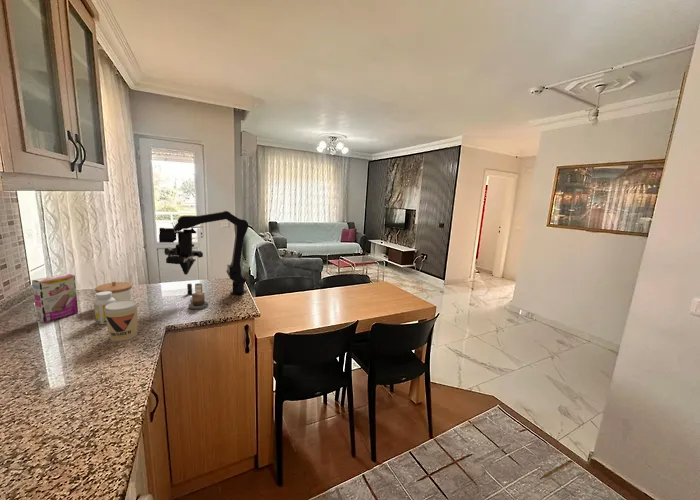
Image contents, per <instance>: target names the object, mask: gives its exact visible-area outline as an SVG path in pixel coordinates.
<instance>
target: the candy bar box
mask: <svg viewBox="0 0 700 500" xmlns="http://www.w3.org/2000/svg"><path fill="white" fill-rule="evenodd" d="M31 285H32V294H33V302H34V308H35V309H34V311H35V318H36V322H40V323H43V324H46V323H50V322H52V321H56V320H59V319H61V318H65V317H69V316H72V315H75V314H78V313H79V307H78V297H77V286H76V285H77V284H76V276H75V275H74V274H71V273H63V274H58V275H54V276H53V275H52V276H47V277H41V278H37V279H32V280H31Z"/></svg>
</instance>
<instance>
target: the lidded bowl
mask: <svg viewBox="0 0 700 500" xmlns="http://www.w3.org/2000/svg"><path fill="white" fill-rule="evenodd" d="M94 289H95V290H94V291H95V295H96V294H97V293H99V292H104V291H111V292H112V296H111V297H113V298H115V300H116V302H117V301H123V300H131V299H132V295H133V284H132V283H131V282H127V281H111V282H108V283H103V284H100V285H98V286H96V287H95V288H94Z"/></svg>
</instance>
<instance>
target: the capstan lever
mask: <svg viewBox="0 0 700 500" xmlns="http://www.w3.org/2000/svg"><path fill="white" fill-rule="evenodd" d="M191 296H192V297H191V301H192V302H191V303H192V304H193V305H196V306H197V305H203V304H204V303H205V301H206V299H205V292H203V283H199V282H198V283H195V285H194V293H192V295H191Z"/></svg>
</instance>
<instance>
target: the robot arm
mask: <svg viewBox="0 0 700 500" xmlns="http://www.w3.org/2000/svg"><path fill="white" fill-rule="evenodd" d="M222 220H223V221H224V220H227V221H228V222H230V223H231V224H233V225H234V226H233V228H234V229H233V230H234V235H235V236H234V243H233V250H232V258H231V262H230V264H227V266H226V271H225V273H227V276H228V278H229V279H230V281H232V291H231V292H229V295H237V296H243V295H244V294H245V293H246V292H247V291H248V290H246V289H245V283H246V282H247V281H246V278H245V277H244V275H242V268H241V267H242V266H241V259H242V253H243V246H244V240H245V236H246V234H247V232H248V229H249V223H248V221H247V220H245V219H243V218H239V217H237V216H235V215H234V214H232V213H231V212H230V211H228V210H224V211H219V212H213V213H206V214H200V215H189V214H188V215H185V214H184V215H180V216H179V217H178V218H177V223H176V224H175V225H174V226H173V227H172V228H170V227H159V234H158V240H159V244H163V243H164V244H168V243H169V244H171V243H173V244H174V242H175V241H177V240H178V241H177V244H176V245H175V247H173V248H171V247H165V248H164V255H165V256H166V259H165V263H166V264H170V265H171V264H172V265H173V264H174V265H180V268H181V269H182V271H183V274H184V275H188V274H189V272H190V271H191V268H192V266H193V265H194V263H195V262H196V259H195V258H194V257H198V258H199V259H200V258H203V257H204V253H203V252H202V251H201V250H193V247H195V244H194V243H193V234H197V231H196V230H195V229H194V227H196V226H198V225H202V224H205V223H206V224H207V223H213V222H216V221H217V222H218V221H222Z"/></svg>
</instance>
